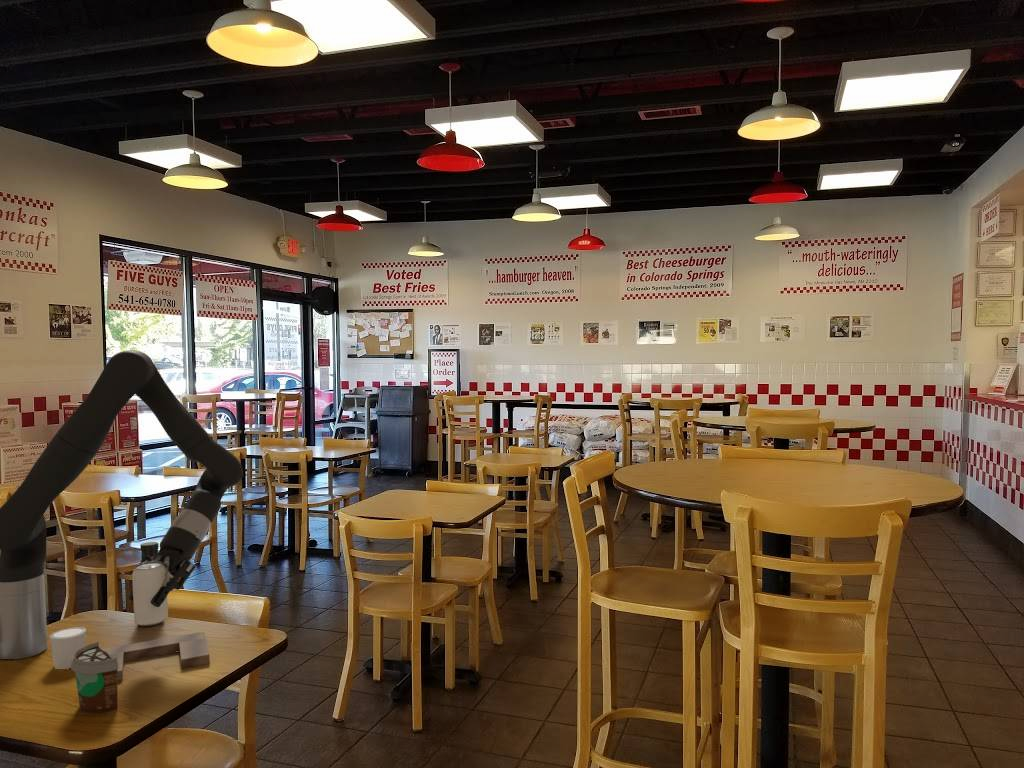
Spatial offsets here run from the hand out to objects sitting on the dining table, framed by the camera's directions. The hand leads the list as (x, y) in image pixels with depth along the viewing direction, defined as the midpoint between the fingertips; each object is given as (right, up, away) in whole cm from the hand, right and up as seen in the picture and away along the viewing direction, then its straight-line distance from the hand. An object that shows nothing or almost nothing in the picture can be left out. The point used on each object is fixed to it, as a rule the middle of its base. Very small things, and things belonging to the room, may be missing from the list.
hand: (143, 603), depth 157 cm
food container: (-2, -15, -17) cm, 22 cm away
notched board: (0, -14, +4) cm, 14 cm away
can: (+1, -4, +2) cm, 5 cm away
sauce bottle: (-11, -13, +27) cm, 32 cm away
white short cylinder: (-17, -14, +3) cm, 23 cm away
